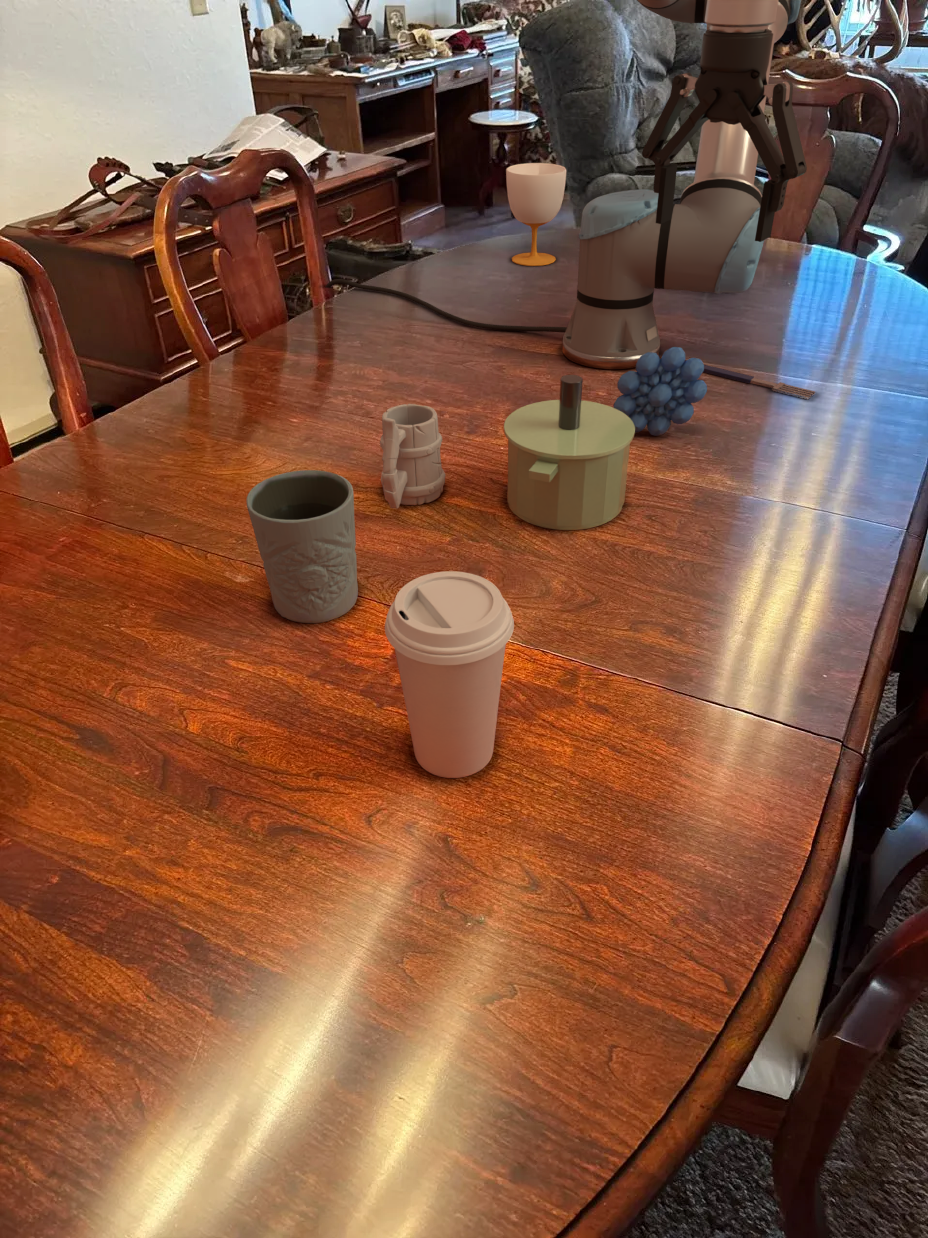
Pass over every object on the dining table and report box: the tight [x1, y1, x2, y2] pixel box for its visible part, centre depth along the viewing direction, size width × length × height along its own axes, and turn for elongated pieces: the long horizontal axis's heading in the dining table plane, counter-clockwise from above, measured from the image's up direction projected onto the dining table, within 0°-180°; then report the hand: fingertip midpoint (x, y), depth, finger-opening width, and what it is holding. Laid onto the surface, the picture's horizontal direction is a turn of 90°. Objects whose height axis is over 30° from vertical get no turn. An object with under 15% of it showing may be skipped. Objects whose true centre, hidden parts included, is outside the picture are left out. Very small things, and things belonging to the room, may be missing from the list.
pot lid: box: [503, 374, 636, 460], centre depth 102 cm, size 15×15×7 cm
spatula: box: [684, 359, 816, 400], centre depth 136 cm, size 21×3×1 cm, turn 51°
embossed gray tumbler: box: [245, 469, 359, 624], centre depth 90 cm, size 10×10×12 cm
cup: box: [505, 162, 567, 267], centre depth 184 cm, size 12×12×17 cm
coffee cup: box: [384, 570, 515, 779], centre depth 71 cm, size 10×10×15 cm
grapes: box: [612, 346, 708, 437], centre depth 119 cm, size 12×7×12 cm, turn 82°
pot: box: [506, 439, 631, 531], centre depth 106 cm, size 14×19×9 cm
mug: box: [379, 403, 447, 510], centre depth 106 cm, size 8×12×12 cm, turn 162°
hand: (711, 229), depth 114 cm, fingers open, 13 cm apart
